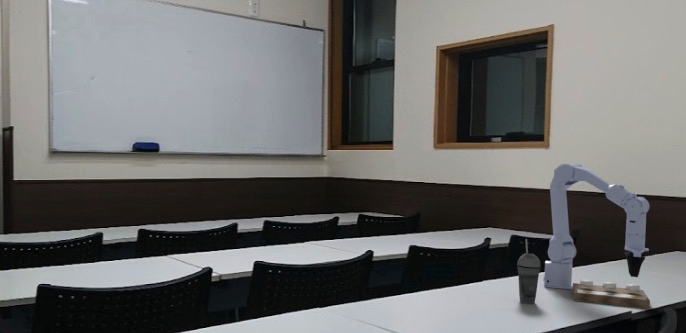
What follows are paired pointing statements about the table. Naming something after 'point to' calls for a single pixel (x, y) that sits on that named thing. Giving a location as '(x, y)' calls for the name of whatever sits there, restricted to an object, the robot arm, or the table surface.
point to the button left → (586, 283)
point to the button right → (632, 287)
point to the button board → (610, 296)
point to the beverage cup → (528, 276)
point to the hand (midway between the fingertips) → (633, 275)
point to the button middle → (609, 285)
